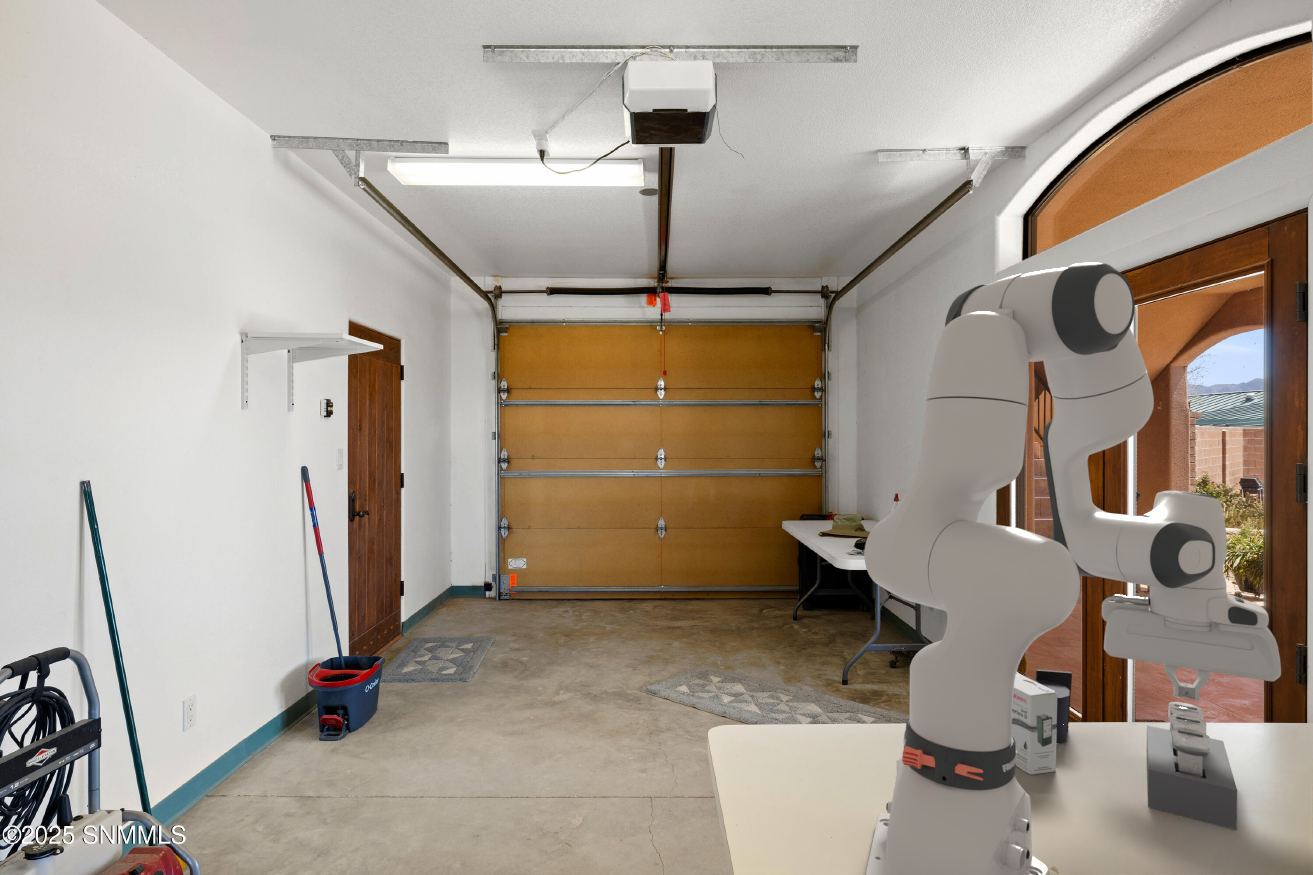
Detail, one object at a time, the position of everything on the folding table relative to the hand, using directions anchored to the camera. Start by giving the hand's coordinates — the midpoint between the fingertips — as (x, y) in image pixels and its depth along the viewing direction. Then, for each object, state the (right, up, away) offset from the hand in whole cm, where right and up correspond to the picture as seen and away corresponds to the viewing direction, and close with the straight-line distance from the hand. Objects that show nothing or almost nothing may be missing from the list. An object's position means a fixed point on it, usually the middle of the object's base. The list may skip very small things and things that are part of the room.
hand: (1186, 697), depth 100 cm
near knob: (-7, -6, -9) cm, 13 cm away
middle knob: (-3, -6, -5) cm, 9 cm away
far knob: (0, -6, 0) cm, 6 cm away
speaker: (-12, -11, +12) cm, 21 cm away
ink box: (-22, -11, +4) cm, 25 cm away
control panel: (-3, -11, -5) cm, 13 cm away
